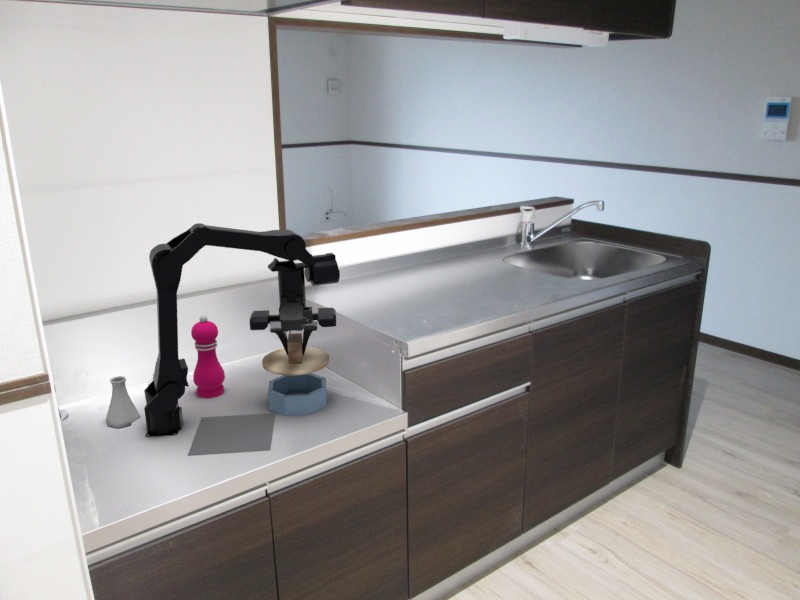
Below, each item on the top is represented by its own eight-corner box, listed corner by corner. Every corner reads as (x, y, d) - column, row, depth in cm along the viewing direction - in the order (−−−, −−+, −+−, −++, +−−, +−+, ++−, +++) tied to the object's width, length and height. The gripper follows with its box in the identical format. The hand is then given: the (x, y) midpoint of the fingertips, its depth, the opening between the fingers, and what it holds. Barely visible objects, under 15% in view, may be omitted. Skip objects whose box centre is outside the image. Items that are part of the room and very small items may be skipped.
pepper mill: (232, 392, 154) (225, 313, 148) (209, 403, 148) (201, 322, 142) (212, 385, 157) (204, 308, 151) (188, 396, 152) (179, 316, 146)
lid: (259, 377, 136) (257, 352, 135) (265, 351, 150) (263, 328, 149) (330, 373, 138) (329, 348, 136) (328, 348, 152) (327, 325, 151)
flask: (130, 409, 145) (125, 369, 142) (147, 419, 141) (142, 377, 138) (99, 421, 140) (93, 379, 137) (116, 432, 135) (109, 389, 132)
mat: (187, 458, 125) (187, 455, 125) (201, 419, 140) (201, 417, 140) (270, 452, 127) (270, 450, 127) (275, 415, 142) (275, 413, 142)
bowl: (267, 419, 141) (266, 398, 139) (271, 393, 153) (270, 374, 151) (327, 415, 142) (326, 395, 141) (326, 390, 155) (325, 371, 153)
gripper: (244, 300, 130) (250, 371, 135) (335, 297, 133) (338, 366, 137) (249, 286, 141) (254, 351, 146) (334, 282, 143) (336, 347, 148)
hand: (295, 354), depth 144 cm, fingers closed on lid, 3 cm apart
